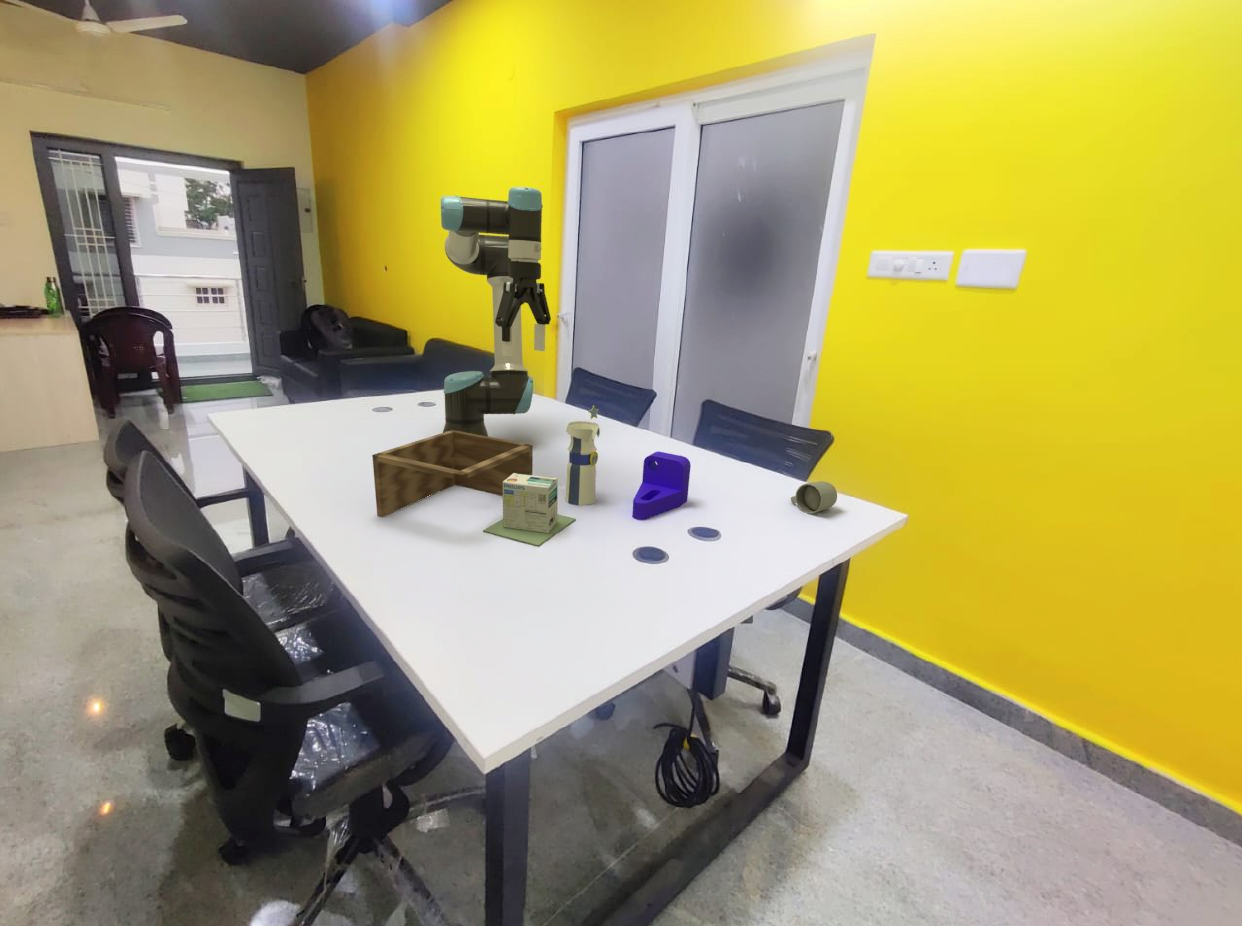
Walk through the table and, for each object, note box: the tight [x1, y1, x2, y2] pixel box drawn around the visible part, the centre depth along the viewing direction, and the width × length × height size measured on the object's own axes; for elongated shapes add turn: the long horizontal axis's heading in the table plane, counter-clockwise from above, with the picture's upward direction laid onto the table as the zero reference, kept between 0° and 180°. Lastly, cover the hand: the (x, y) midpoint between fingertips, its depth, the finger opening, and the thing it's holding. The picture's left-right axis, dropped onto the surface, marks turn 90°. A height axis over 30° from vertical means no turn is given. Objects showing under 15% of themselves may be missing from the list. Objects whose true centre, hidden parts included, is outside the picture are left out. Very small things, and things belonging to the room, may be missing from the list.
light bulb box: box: [502, 473, 559, 533], centre depth 126 cm, size 11×7×11 cm, turn 79°
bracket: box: [631, 451, 692, 521], centre depth 141 cm, size 18×11×12 cm, turn 152°
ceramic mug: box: [790, 480, 838, 515], centre depth 147 cm, size 11×8×8 cm
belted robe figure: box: [564, 405, 601, 507], centre depth 141 cm, size 8×9×25 cm
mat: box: [482, 513, 577, 548], centre depth 128 cm, size 16×14×1 cm
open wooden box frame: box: [372, 430, 534, 518], centre depth 134 cm, size 26×24×14 cm
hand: (524, 353), depth 141 cm, fingers open, 13 cm apart
